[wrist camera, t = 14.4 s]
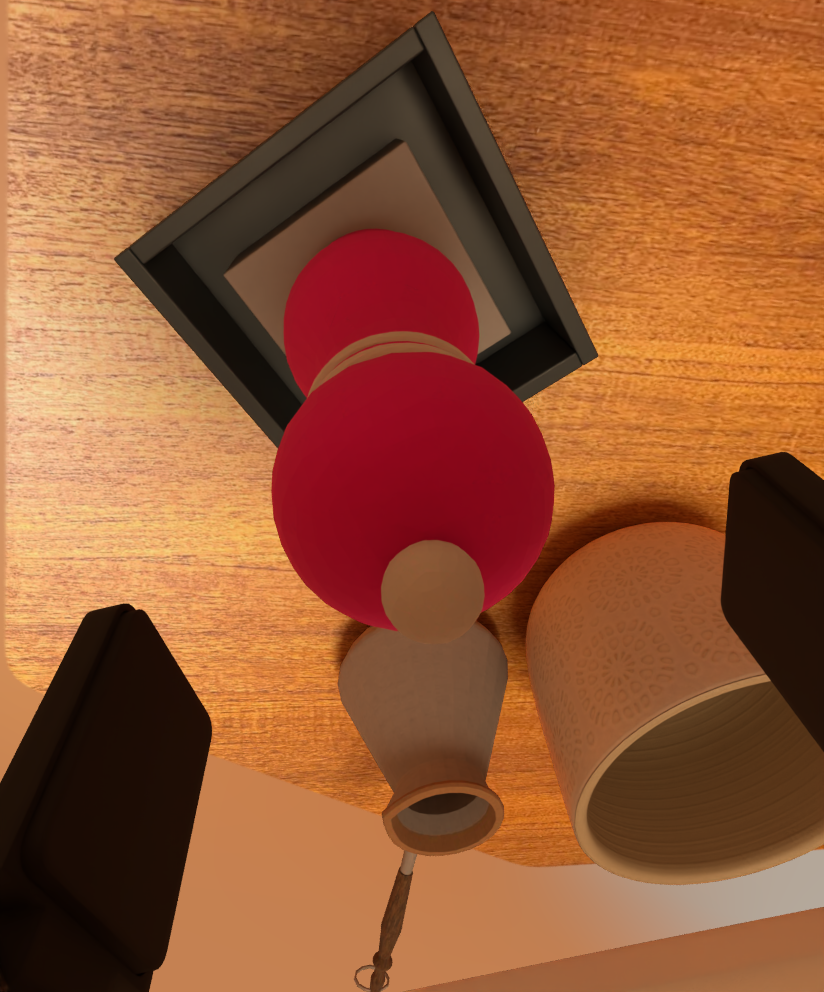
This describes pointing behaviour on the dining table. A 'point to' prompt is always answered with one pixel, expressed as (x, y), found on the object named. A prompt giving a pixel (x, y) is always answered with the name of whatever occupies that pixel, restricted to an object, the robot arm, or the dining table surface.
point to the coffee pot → (427, 748)
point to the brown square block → (348, 208)
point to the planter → (667, 715)
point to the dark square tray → (317, 166)
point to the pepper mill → (403, 445)
